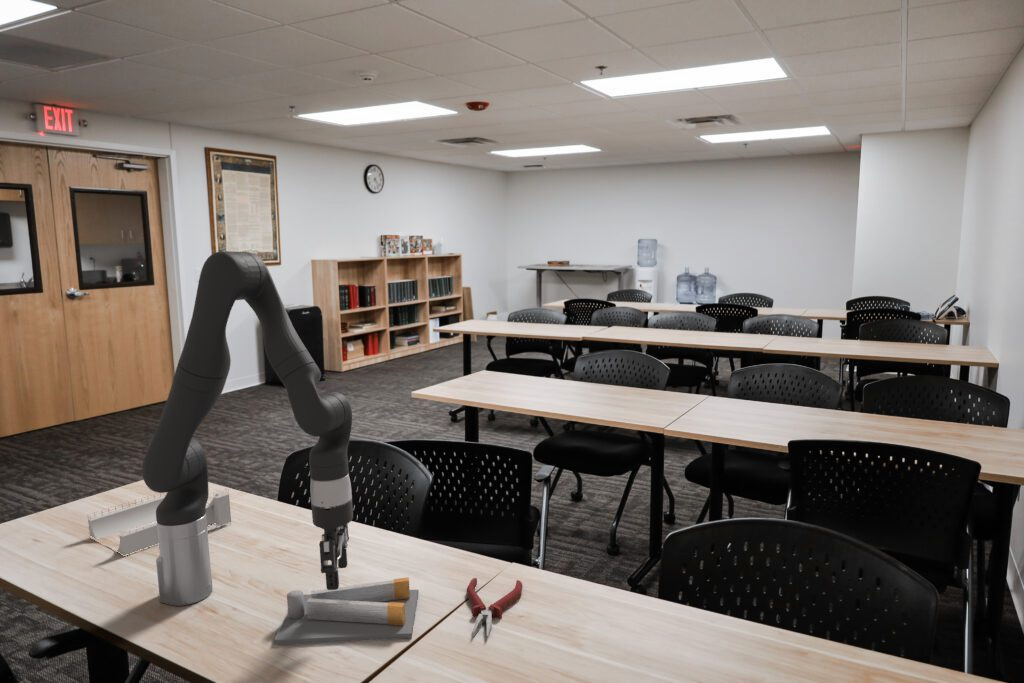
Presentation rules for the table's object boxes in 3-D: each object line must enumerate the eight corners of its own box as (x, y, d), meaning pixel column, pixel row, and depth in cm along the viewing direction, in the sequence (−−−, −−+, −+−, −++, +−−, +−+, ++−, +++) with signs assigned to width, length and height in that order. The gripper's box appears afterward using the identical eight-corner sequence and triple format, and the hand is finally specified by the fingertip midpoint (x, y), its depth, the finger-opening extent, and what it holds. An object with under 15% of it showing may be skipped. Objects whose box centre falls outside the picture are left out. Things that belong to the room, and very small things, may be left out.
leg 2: (307, 619, 129) (306, 601, 128) (310, 615, 130) (309, 597, 130) (403, 625, 126) (402, 606, 126) (405, 621, 128) (404, 602, 127)
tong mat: (274, 645, 123) (272, 617, 122) (297, 599, 139) (295, 574, 138) (411, 638, 124) (410, 610, 124) (418, 593, 140) (417, 569, 139)
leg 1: (312, 612, 132) (311, 594, 131) (312, 608, 133) (311, 590, 133) (409, 598, 136) (409, 580, 136) (409, 594, 138) (408, 577, 137)
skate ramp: (186, 507, 191) (182, 473, 189) (231, 526, 177) (228, 489, 176) (90, 539, 171) (85, 502, 169) (133, 563, 157) (129, 522, 156)
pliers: (449, 640, 124) (448, 627, 124) (470, 586, 144) (470, 575, 144) (510, 645, 123) (510, 631, 122) (523, 589, 142) (523, 578, 142)
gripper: (319, 485, 135) (325, 562, 137) (302, 513, 121) (309, 598, 123) (357, 483, 135) (362, 559, 138) (344, 511, 121) (350, 595, 123)
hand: (337, 577), depth 130 cm, fingers open, 8 cm apart
